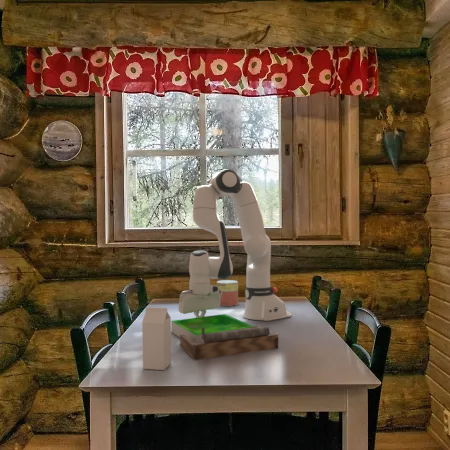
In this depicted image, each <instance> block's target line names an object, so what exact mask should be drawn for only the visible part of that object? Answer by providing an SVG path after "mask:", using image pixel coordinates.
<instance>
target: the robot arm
mask: <svg viewBox="0 0 450 450" xmlns="http://www.w3.org/2000/svg"><path fill="white" fill-rule="evenodd" d="M226 196H229V197H230V198H231V200H232V202H233V205H234V209H235V213H236V216H237V219H238V220H237V221H238V224H239V228H240V234H241V238H242V243H243V249H244V251H245V253H246V254H247V261H246V269H245V270H246V275H245V276H246V279H245V280H246V283H245V284H246V285H245V291H244V292H245V293H244V295H245V306H244V312H243V315H242V317H243V318H245V319H247V320H256V321H265V322H266V321H267V322H268V321H274V320H280V319H286V318H291V317H292V313H291V312H289V311H287V306H286V303H285V302H284V301H283V300H282V299H281V298H280V297H278V296H277V295H276V294H274V293H277V292H278V288H277V287H272V286H271V258H272V254H271V253H272V242H271V239H270V237H269V235H267V233H266V229H265V224H264V218H263V215H262V212H261V208H260V205H259V202H258V198H257V196H256V193H255V190H254V188H253V186H252V184H251V183H250V182H248V181H243V179H241V177H240V176H239V174H237V172H236V171H235V170H233V169H230V168H225V169H222V170H220V171H219V172H216V173H215V174H214V175H213V176H212V177H211V178H210V180H209V181H208V183H207V184H205V185H204V184H203V185H200V186H198V187H196V189H195V190H194V197H193V204H192V205H193V206H192V218H193V221H194V223H195V225H196V226H197V227H198V228H200V229H202V230H204V231H207V232H210V233H212V234H213V235H215V236H216V238H217V240H218V249H219V253H220V255H219V256H209V252H208V251H207V250H202V249H198V250H194V251H192V252H191V253H190V257H189V264H188V267H189V268H188V272H189V278H190V279H189V282H188V283H189V287H188V288H189V290H184V291H181V293H180V294H179V301H178V302H179V303H178V312H179V313H180V314H183V315H185V314H190V313H193V314H194V317H195V318H198V317H205V316H206V313H207V310H212V309H217V308H220V307H221V306H220V294H219V292H218V291H219V287H218V286H217V285H215V284H214V285H213V284H211V280H210V279H214V280H215V279H218V280H228V279H229V278H230V277H231V276H232V275H233V270H234V266H233V263H232V258H231V253H230V247H229V246H230V245H229V241H228V233H227V229H226V225H225V223H224V221H223V220H221V219H220V217H219V213H218V202H219V199H222V198H224V197H226Z"/></svg>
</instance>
